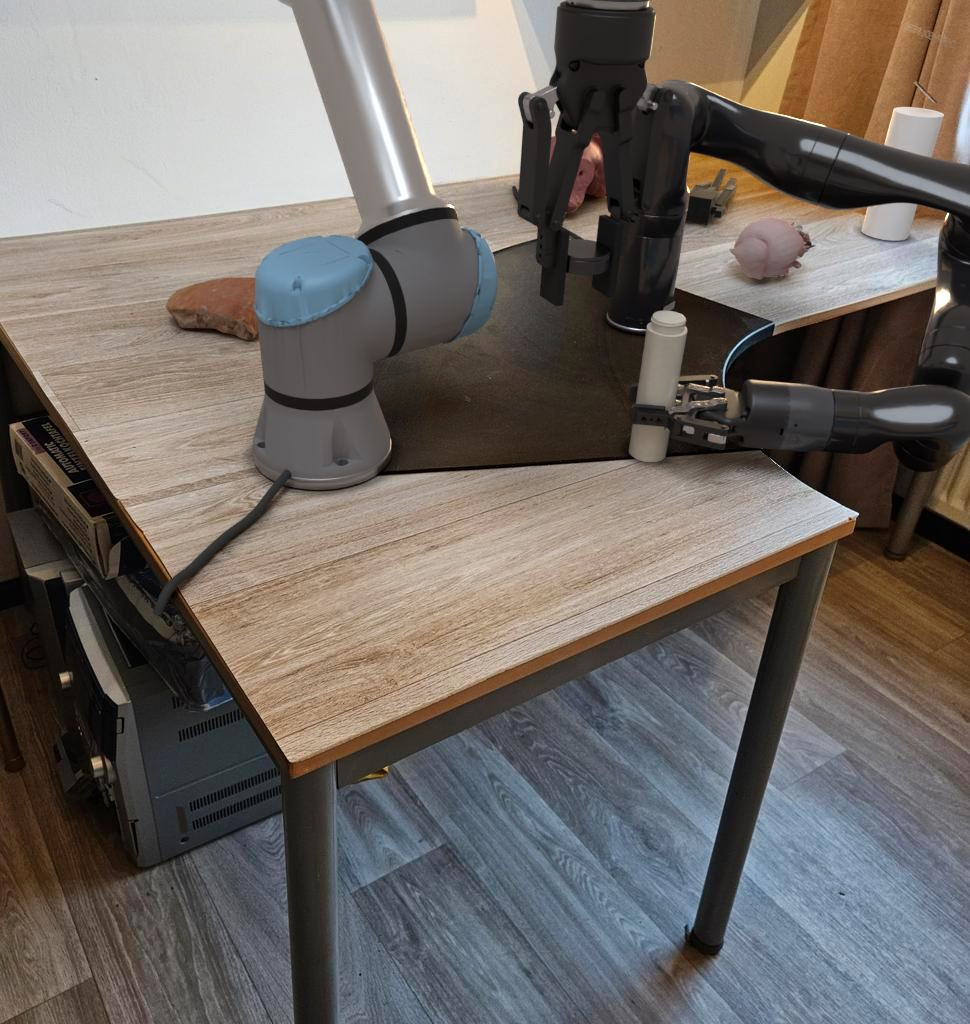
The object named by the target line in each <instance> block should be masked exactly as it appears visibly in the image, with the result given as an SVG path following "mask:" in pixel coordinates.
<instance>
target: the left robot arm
mask: <svg viewBox="0 0 970 1024" xmlns="http://www.w3.org/2000/svg"><path fill="white" fill-rule="evenodd" d="M277 1H278V2H279V3H281V4H283V5H285V6H287V7H289V8H291V10H292V13H293V16H294V19H295V22H296V24H297V28H298V30H299V34H300V37H301V40H302V43H303V46H304V50H305V52H306V56H307V58H308V61H309V65H310V67H311V70H312V74H313V77H314V80H315V83H316V85H317V88H318V92H319V94H320V98H321V100H322V104H323V107H324V110H325V113H326V116H327V118H328V123H329V126H330V129H331V131H332V134H333V137H334V140H335V143H336V145H337V149H338V152H339V155H340V159H341V161H342V164H343V167H344V171H345V174H346V176H347V180H348V184H349V186H350V189H351V192H352V195H353V198H354V201H355V204H356V206H357V210H358V213H359V216H360V219H361V224H360V225H359V228H358V230H357V232H356V233H355V236H354V237H352V236H349V235H341V234H340V235H339V234H331V235H328V236H324V237H323V236H322V235H314V236H313V235H312V236H307V237H302V238H299V239H294V240H291V241H289V242H286V243H284V244H281V245H279V246H277V247H276V248H274V249H272V250H270V251H269V252H268V253H267V254H266V255H265V256H264V257H263V258H262V260H261V262H260V263H259V265H258V266H257V268H256V271H255V274H254V275H255V277H254V278H255V304H254V307H255V312H256V315H257V322H258V331H259V332H258V340H259V349H260V359H261V369H262V378H263V388H264V390H263V391H264V396H263V400H262V404H261V408H260V412H259V415H258V419H257V423H256V427H255V430H254V434H253V439H252V441H253V442H252V455H253V460H254V464H255V467H256V468H257V470H258V471H259V472H260V473H261V474H262V475H263V476H265V477H266V478H268V479H269V480H271V481H273V484H272V485H271V486H270V487H269V488H268V489H267V491H266V492H265V493H264V495H263V496H262V497H261V499H260V500H259V502H257V504H256V506H254V508H253V509H252V510H251V511H250V512H249V513H248V514H247V515H246V516H244V517H243V518H242V519H241V520H239V521H238V522H236V523H235V524H233V525H232V526H230V527H229V528H228V529H227V530H225V531H224V532H223V533H222V534H220V535H219V536H218V537H217V538H216V539H214V540H213V541H212V542H211V543H210V544H209V545H208V546H207V547H206V548H205V549H203V551H201V553H200V554H198V555H197V557H196V558H195V559H193V560H192V561H191V562H190V563H189V564H188V565H187V566H185V568H183V569H182V570H181V571H179V572H177V574H175V575H174V576H173V577H171V578H170V580H168V582H167V583H166V584H165V585H164V587H163V588H162V590H161V591H160V593H159V595H158V598H157V599H156V603H155V605H154V608H153V612H152V613H153V615H154V616H155V617H157V616H159V617H160V616H161V615H163V614H164V613H165V611H166V608H167V606H168V603H169V601H170V598H171V596H172V595H173V594H174V591H175V590H176V589H177V588H178V586H180V585H181V584H183V582H185V581H186V580H188V579H189V578H190V577H192V576H193V575H194V574H196V572H197V571H198V570H199V569H200V568H201V567H202V566H203V565H204V564H205V563H206V562H207V561H208V560H209V559H210V558H211V557H213V555H214V554H215V553H216V552H217V551H218V550H220V549H221V548H222V547H223V546H224V545H225V544H227V542H229V541H231V539H232V538H234V537H235V536H236V535H238V534H239V533H241V532H242V531H244V530H245V529H246V528H247V527H249V526H250V525H251V524H252V523H254V522H255V521H256V520H257V519H258V518H259V517H260V515H262V513H263V512H264V511H265V510H266V509H267V507H268V506H269V505H270V503H271V502H272V500H273V499H274V498H275V496H276V495H277V494H278V492H279V491H280V490H281V489H282V488H283V486H286V487H290V488H295V489H301V490H312V491H314V490H315V491H323V490H327V491H328V490H337V489H342V488H348V487H351V486H355V485H358V484H361V483H363V482H366V481H368V480H370V479H373V478H374V477H375V476H377V475H378V474H380V473H381V472H382V471H383V470H384V469H385V468H386V467H387V466H388V464H389V463H390V461H391V458H392V438H391V432H390V430H391V427H390V426H389V424H388V422H387V420H386V419H385V417H384V413H383V411H382V408H381V406H380V403H379V400H378V398H377V395H376V393H375V385H374V364H375V362H377V361H381V360H384V359H387V358H392V357H395V356H400V355H402V354H406V353H410V352H414V351H418V350H421V349H425V348H426V349H427V348H429V347H433V346H437V345H441V344H444V345H447V344H451V343H454V342H455V341H458V339H461V338H464V337H467V336H470V335H473V334H475V333H477V332H478V331H480V330H481V329H482V328H483V327H484V326H485V325H486V324H487V322H488V321H489V319H490V318H491V315H492V313H493V310H494V305H495V302H496V300H497V294H498V270H497V269H498V268H497V264H496V260H495V256H494V253H493V250H492V248H491V246H490V245H489V242H488V241H487V239H486V238H484V237H482V235H481V233H480V232H478V231H477V230H475V229H472V228H469V227H461V226H462V225H461V224H460V220H459V217H458V214H457V210H456V208H455V206H454V205H452V204H450V203H448V202H446V201H445V200H443V199H441V198H439V197H438V196H437V194H436V191H435V188H434V185H433V181H432V179H431V178H432V177H431V175H430V172H429V169H428V166H427V163H426V160H425V157H424V154H423V151H422V148H421V144H420V141H419V139H418V135H417V131H416V129H415V125H414V123H413V120H412V117H411V113H410V110H409V106H408V104H407V101H406V97H405V95H404V91H403V89H402V86H401V85H402V84H401V83H400V82H401V81H400V80H399V76H398V73H397V69H396V67H395V64H394V61H393V57H392V54H391V52H390V51H391V50H390V49H389V45H388V41H387V39H386V35H385V33H384V29H383V27H382V23H381V21H380V17H379V15H378V11H377V8H376V5H375V1H374V0H277ZM651 1H652V0H564V1H561V2H560V3H559V5H558V6H557V7H556V18H555V30H554V33H555V34H554V43H553V49H554V50H553V51H554V55H555V67H554V70H553V73H552V74H551V77H550V79H549V82H548V86H546V87H543V88H541V89H539V90H537V91H536V92H533V93H531V92H529V91H522V92H521V93H520V94H519V95H518V98H517V105H518V109H519V112H520V117H521V121H522V135H521V136H522V137H521V149H520V162H519V163H520V165H519V181H518V189H519V194H518V200H517V211H516V212H517V215H518V217H519V218H521V219H523V220H525V221H526V222H528V223H530V224H532V225H534V226H536V227H537V229H536V230H537V231H536V232H537V233H536V247H535V260H536V263H537V264H539V265H540V266H541V273H540V284H539V285H540V286H539V296H540V297H541V298H542V299H544V300H546V301H547V302H549V304H552V305H553V306H554V307H560V306H563V305H564V298H565V289H566V277H567V273H566V268H567V258H568V247H569V240H570V237H571V236H570V231H571V230H570V229H567V228H566V227H564V226H563V224H564V222H565V221H564V220H565V217H566V214H567V213H566V211H567V207H568V204H569V200H570V197H571V194H572V190H573V187H574V183H575V180H576V176H577V173H578V170H579V166H580V163H581V159H582V156H583V152H584V150H585V148H587V147H588V146H589V145H590V142H591V138H592V135H593V134H595V133H598V135H599V137H600V138H601V144H602V155H603V165H604V176H605V187H606V197H605V199H606V205H607V206H606V207H607V208H606V209H607V212H608V213H609V215H608V214H600V215H598V223H597V230H596V231H597V232H596V240H595V241H596V242H600V243H602V244H605V245H606V246H608V247H609V248H610V250H611V253H610V261H609V268H608V270H607V271H606V272H604V273H601V274H596V275H592V276H591V277H592V278H591V285H590V286H591V288H592V289H593V290H595V291H597V292H598V293H601V294H602V295H604V296H605V297H607V298H610V297H612V296H615V293H616V285H617V277H618V269H619V261H620V256H624V255H625V253H626V250H627V243H628V236H629V228H630V223H631V224H635V223H637V222H638V221H639V219H640V214H638V213H639V212H641V211H644V212H647V211H649V210H650V209H651V207H652V205H653V199H654V191H655V184H656V177H657V169H658V162H659V155H660V147H661V140H662V132H663V125H664V119H665V117H666V114H667V112H668V109H669V107H670V104H671V102H672V99H673V92H672V90H670V89H667V88H664V87H661V86H658V85H656V84H654V83H651V82H649V80H648V75H647V71H646V62H647V61H648V60H649V59H650V58H651V55H652V50H653V41H654V33H655V26H656V17H657V12H656V11H655V9H654V7H652V6H650V2H651ZM636 104H637V106H638V107H637V111H636V115H635V120H634V129H633V130H632V116H631V112H632V110H633V109H634V107H635V106H636ZM555 105H556V107H557V109H558V111H559V115H558V119H557V123H556V127H555V131H554V136H556V143H555V147H554V150H553V154H552V157H551V161H550V149H551V137H553V135H552V133H553V132H552V131H553V127H552V120H551V119H554V118H555V116H556V112H555V109H554V108H555ZM573 131H577V132H576V133H575V132H573ZM630 140H632V145H631V151H630ZM549 161H550V165H549ZM565 228H566V229H565ZM174 808H175V811H176V812H175V814H176V817H177V818H176V819H177V825H178V830H179V833H180V834H186V833H188V832H189V824H188V818H187V812H186V807H185V806H178V805H175V806H174Z"/></svg>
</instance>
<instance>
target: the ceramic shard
mask: <svg viewBox="0 0 970 1024" xmlns="http://www.w3.org/2000/svg"><path fill="white" fill-rule="evenodd" d="M254 304H255V277H221V278H217V279H216V278H215V279H211V280H206V281H204V282H198V283H194V284H191V285H188V286H186V287H182V288H180V289H177V290H176V291H175V292H174V293H173V294H171V295H170V296H169V298H168V299H167V302H166V304H165V308H166V311H167V312H168V313H169V314H170V315H172V317H174V319H175V321H176V323H177V324H178V325H179V327H181V328H183V329H213V330H217V331H219V332H221V333H223V334H230V335H233V336H237V337H238V338H240V339H242V340H246V341H251V340H252V341H253V339H255V338H256V336H257V334H259V331H258V322H257V315H256V312H255V307H254Z"/></svg>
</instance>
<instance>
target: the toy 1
mask: <svg viewBox="0 0 970 1024" xmlns="http://www.w3.org/2000/svg"><path fill="white" fill-rule="evenodd" d="M727 171H728V170H727V169H726V168H720V169H719V171H718V173H717V175H716V177H715V178H714V180H713V182H710V181H704V182H700V183H697V184H695V185H694V187H693V188H692V190H691V191H690V197H689V204H688V209H687V215H686V221H685V222H687V223H693V224H699V225H706V226H707V225H709V223H711V221H712V220H713V218H716V219H722V217H723V216H724V215H725V212H726V204H727V203H728V201H729V199H730V198H731V197H732V196H734V195H735V194H736V193H737V188H738V185H736V182H737V177H732V176H731V177H730V178H729V179H728V180H727V182H726V183H725V185H724V187H723V188H722V190H719V189H720V188H721V186H722V184H723V181H724V180H725V178H726V176H727Z"/></svg>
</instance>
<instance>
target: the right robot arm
mask: <svg viewBox="0 0 970 1024" xmlns="http://www.w3.org/2000/svg"><path fill="white" fill-rule="evenodd" d="M655 85H658V86H661V87H664V88H667V89H670V90H672V92H673V99H672V102H671V104H670V107H669V109H668V112H667V114H666V117H665V119H664V125H663V132H662V140H661V147H660V155H659V162H658V169H657V177H656V184H655V191H654V199H653V205H652V207H651V209H650V210H649V211H647V212H644V211H641V212H639V213H638V214H640V219H639V221H638V222H637V223H635V224H631V223H630V228H629V236H628V243H627V250H626V253H625V255H624V256H620V261H619V269H618V277H617V285H616V293H615V296H612V297H608V306H607V312H606V317H605V319H606V322H607V324H608V325H610V326H611V328H614V329H616V330H618V331H622V332H625V333H630V334H636V335H646V329H647V325H648V324H649V323H650V322H652V321H651V318H652V316H653V314H654V313H655V312H658V311H673V309H675V306H676V301H675V300H674V296H675V289H676V285H677V284H676V283H677V277H678V270H679V265H680V258H681V253H682V246H683V241H684V233H685V228H686V222H687V221H686V215H687V209H688V204H689V197H690V192H691V191H690V188H689V187H688V174H689V167H690V166H689V165H690V159H691V153H693V154H697V155H701V156H705V157H709V158H713V159H717V160H721V161H724V162H726V163H729V164H732V165H734V166H736V167H738V168H739V169H741V170H743V171H744V172H746V173H748V174H749V175H750V176H752V177H754V178H755V179H757V180H758V181H759V182H761V183H762V184H764V185H765V186H767V187H769V188H770V189H772V190H774V191H776V192H778V193H780V194H782V195H784V196H787V197H789V198H791V199H795V200H797V201H800V202H804V203H806V204H810V205H812V206H816V207H819V208H822V209H826V210H829V211H850V210H858V209H867V208H868V207H872V206H878V205H885V204H893V203H908V204H916V205H918V206H921V207H926V208H928V209H932V210H933V209H934V210H936V211H940V212H943V213H947V214H946V216H945V218H944V220H943V222H942V224H941V227H940V230H939V233H938V242H937V259H936V260H937V263H936V269H937V270H936V283H935V291H934V298H933V301H932V302H933V303H932V306H931V310H930V314H929V317H928V320H927V324H926V327H925V331H924V333H923V337H922V341H921V345H920V349H919V353H918V356H917V360H916V365H915V371H914V374H913V378H912V380H911V383H910V385H908V386H900V387H899V386H898V387H892V388H890V387H889V388H885V389H879V390H874V391H859V390H852V389H851V390H849V389H837V388H826V387H822V386H817V385H812V384H805V383H793V382H782V381H773V380H772V381H771V380H758V379H747V380H745V381H744V382H743V383H742V385H741V388H740V389H738V390H734V389H730V388H726V387H720V386H719V385H718V380H719V376H717V375H715V374H698V375H680V378H679V383H678V389H677V395H676V401H675V407H668V408H667V410H666V407H665V406H657V405H646V404H636V397H637V390H638V383H632V384H631V385H629V386H630V387H629V394H628V401H629V403H631V404H632V405H631V407H630V413H629V422H630V424H638V425H650V426H661V427H664V429H665V430H666V431H670V435H669V438H670V439H672V440H675V441H678V442H684V443H687V444H691V445H697V446H701V447H705V448H709V449H714V450H717V451H722V450H725V448H726V445H727V441H728V437H734V438H735V442H736V444H737V445H738V446H739V447H741V448H751V449H763V450H776V451H787V452H799V453H804V452H805V453H806V452H807V453H808V452H825V453H836V454H846V455H865V454H869V453H871V452H873V451H875V450H876V449H878V448H879V447H881V446H882V445H884V444H887V443H890V442H891V447H892V450H893V453H894V455H895V457H896V458H897V460H898V461H899V462H900V463H901V464H902V466H904V467H906V468H907V469H909V470H911V471H913V472H918V473H931V472H935V471H938V470H940V469H942V468H944V467H945V466H946V465H948V464H949V463H950V462H951V461H953V459H954V458H955V457H956V456H957V455H958V454H959V452H960V451H961V450H962V449H963V448H964V446H966V444H967V443H968V442H969V441H970V164H966V163H962V162H956V161H951V160H947V159H941V158H937V157H933V156H932V157H927V156H923V155H919V154H915V153H911V152H908V151H904V150H901V149H897V148H893V147H890V146H886V145H884V144H882V143H879V142H875V141H873V140H869V139H867V138H864V137H860V136H858V135H855V134H852V133H848V132H846V131H842V130H839V129H836V128H833V127H829V126H827V125H824V124H819V123H815V122H811V121H808V120H804V119H799V118H796V117H792V116H788V115H784V114H779V113H775V112H770V111H766V110H760V109H757V108H753V107H750V106H747V105H744V104H742V103H739V102H736V101H733V100H731V99H730V98H727V97H724V96H722V95H719V94H718V93H716V92H712V91H711V90H708V89H706V88H704V87H703V86H700V85H697V84H695V83H693V82H690V81H688V80H684V79H679V78H678V79H667V80H663V81H660V82H659V83H656V84H655ZM637 107H638V106H637V104H636V106H635V107H634V109H633V110H632V112H631V116H632V130H633V129H634V120H635V115H636V111H637ZM631 145H632V140H630V151H631ZM511 188H512V191H513V196H514V198H515V199H516V200H517V201H518V188H517V186H516V185H513V186H511ZM564 228H565V229H567V228H566V227H564ZM569 231H570V236H569V237H571V239H584V238H582V237H581V236H579V235H578V234H576V233H575V232H573V231H571V230H569Z"/></svg>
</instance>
